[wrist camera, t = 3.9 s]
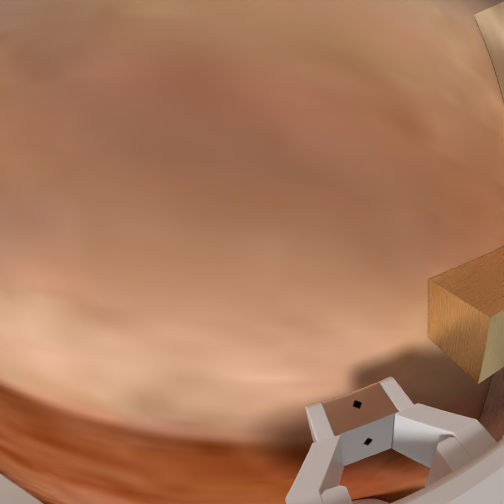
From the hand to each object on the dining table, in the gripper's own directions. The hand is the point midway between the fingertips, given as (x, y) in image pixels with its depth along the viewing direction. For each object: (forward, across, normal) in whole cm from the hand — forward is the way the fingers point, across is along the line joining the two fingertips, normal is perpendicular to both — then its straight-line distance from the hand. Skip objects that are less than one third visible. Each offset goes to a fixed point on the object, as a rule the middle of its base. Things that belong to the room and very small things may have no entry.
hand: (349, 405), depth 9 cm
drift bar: (+3, -8, 0) cm, 9 cm away
